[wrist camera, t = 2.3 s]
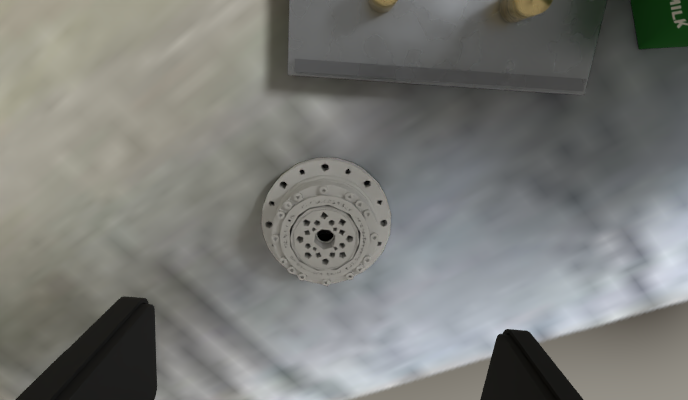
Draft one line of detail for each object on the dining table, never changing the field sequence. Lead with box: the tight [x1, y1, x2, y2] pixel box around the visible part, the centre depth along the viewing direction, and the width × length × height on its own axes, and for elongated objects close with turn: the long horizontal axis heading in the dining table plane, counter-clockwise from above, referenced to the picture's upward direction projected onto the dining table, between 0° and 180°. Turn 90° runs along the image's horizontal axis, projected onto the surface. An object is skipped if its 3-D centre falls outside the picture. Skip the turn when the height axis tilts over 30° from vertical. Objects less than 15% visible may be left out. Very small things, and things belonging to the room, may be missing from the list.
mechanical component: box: [261, 158, 391, 286], centre depth 28 cm, size 10×4×10 cm
